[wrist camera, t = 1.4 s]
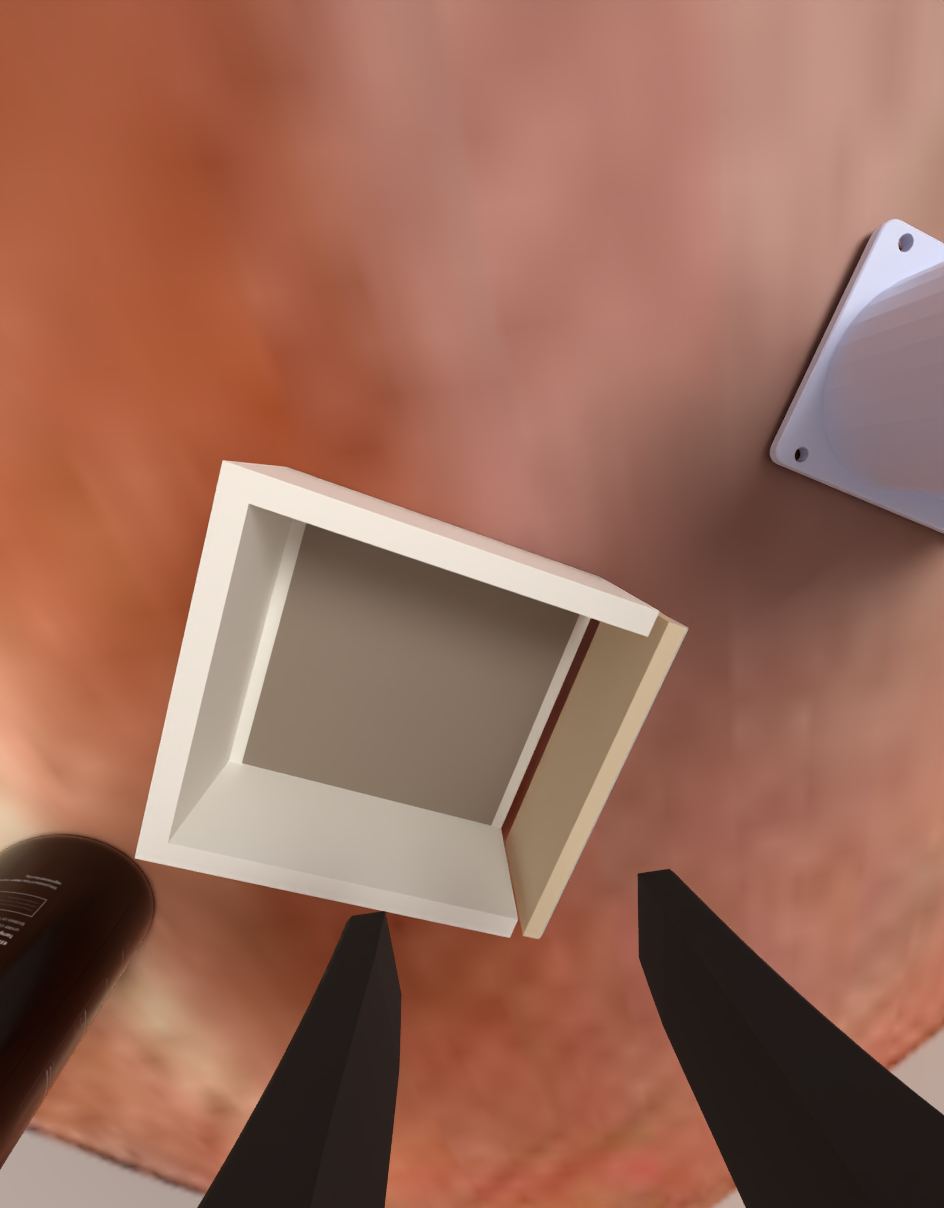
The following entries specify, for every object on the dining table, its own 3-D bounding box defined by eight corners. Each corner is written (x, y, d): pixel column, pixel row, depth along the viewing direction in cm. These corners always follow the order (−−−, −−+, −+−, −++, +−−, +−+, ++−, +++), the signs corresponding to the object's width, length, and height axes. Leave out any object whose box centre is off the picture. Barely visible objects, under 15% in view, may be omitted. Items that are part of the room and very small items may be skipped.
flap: (631, 594, 17) (690, 629, 13) (520, 845, 20) (541, 939, 16) (614, 588, 17) (668, 622, 13) (505, 842, 20) (522, 935, 16)
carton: (599, 576, 18) (659, 611, 13) (492, 830, 20) (509, 938, 16) (287, 466, 16) (223, 460, 11) (212, 760, 19) (134, 858, 14)
